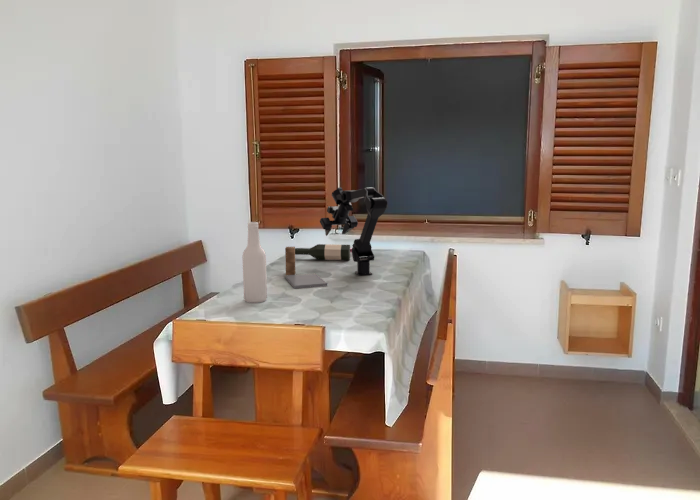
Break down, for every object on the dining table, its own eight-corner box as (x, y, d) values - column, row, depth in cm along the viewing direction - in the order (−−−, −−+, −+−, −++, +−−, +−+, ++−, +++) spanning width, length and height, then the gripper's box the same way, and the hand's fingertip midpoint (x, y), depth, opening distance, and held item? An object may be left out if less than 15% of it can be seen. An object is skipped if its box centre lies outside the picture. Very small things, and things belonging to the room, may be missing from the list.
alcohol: (245, 304, 213) (242, 224, 207) (243, 298, 221) (240, 221, 216) (268, 302, 215) (266, 223, 210) (265, 296, 224) (263, 220, 218)
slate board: (327, 285, 240) (327, 283, 240) (294, 288, 236) (294, 285, 236) (315, 275, 259) (315, 273, 258) (285, 278, 255) (285, 275, 254)
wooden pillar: (295, 273, 264) (294, 246, 262) (294, 275, 260) (294, 248, 258) (286, 273, 264) (286, 246, 262) (285, 275, 260) (285, 248, 258)
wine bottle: (350, 241, 295) (293, 240, 299) (348, 248, 288) (290, 247, 291) (350, 255, 299) (294, 254, 302) (349, 263, 292) (291, 262, 295)
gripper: (353, 199, 283) (344, 222, 294) (319, 201, 274) (311, 224, 285) (362, 214, 277) (353, 237, 287) (328, 217, 268) (319, 240, 278)
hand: (334, 234), depth 285 cm, fingers open, 9 cm apart
